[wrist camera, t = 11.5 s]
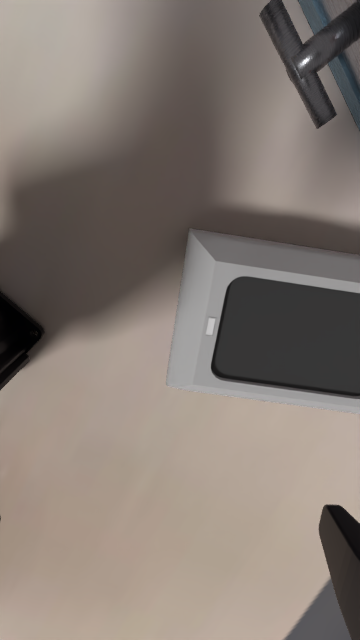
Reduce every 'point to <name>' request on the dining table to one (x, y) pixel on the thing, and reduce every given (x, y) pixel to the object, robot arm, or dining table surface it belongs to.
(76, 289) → the dining table surface
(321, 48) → the vise
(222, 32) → the dining table surface
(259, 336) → the grey beveled box
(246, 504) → the dining table surface
